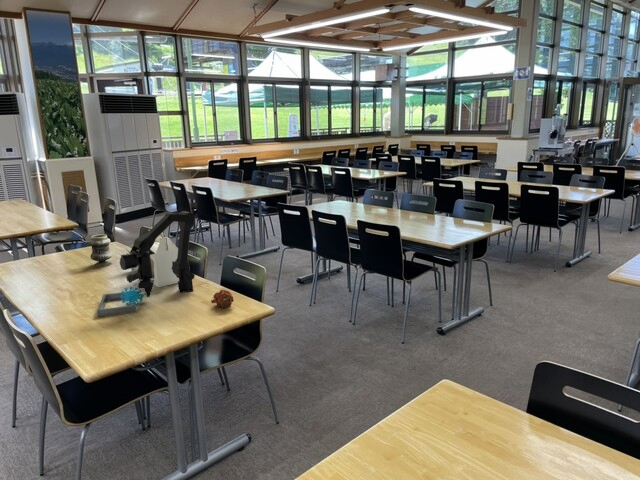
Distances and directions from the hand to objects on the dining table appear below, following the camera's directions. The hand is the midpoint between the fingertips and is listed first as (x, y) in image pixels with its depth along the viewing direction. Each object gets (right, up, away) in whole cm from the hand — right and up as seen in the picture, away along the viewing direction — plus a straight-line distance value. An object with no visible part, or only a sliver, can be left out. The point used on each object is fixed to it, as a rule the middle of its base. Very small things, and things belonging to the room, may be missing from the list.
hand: (148, 296), depth 218 cm
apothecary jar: (-51, +12, +63) cm, 82 cm away
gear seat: (-11, -4, -5) cm, 13 cm away
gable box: (-4, +5, +32) cm, 32 cm away
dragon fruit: (+37, -4, -8) cm, 38 cm away
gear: (-6, -3, -2) cm, 7 cm away
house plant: (-23, +9, +48) cm, 54 cm away
